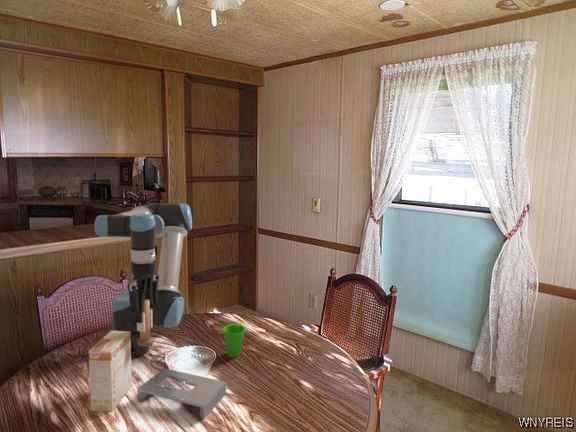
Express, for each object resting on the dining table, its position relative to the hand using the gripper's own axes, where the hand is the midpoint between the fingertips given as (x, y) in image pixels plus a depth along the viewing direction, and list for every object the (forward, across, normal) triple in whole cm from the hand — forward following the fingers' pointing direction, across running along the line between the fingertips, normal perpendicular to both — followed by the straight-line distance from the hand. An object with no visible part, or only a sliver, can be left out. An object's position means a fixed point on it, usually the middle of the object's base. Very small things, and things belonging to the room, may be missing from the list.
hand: (144, 328), depth 136 cm
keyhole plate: (+20, -2, -16) cm, 26 cm away
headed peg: (+5, 0, 0) cm, 5 cm away
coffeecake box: (+20, -10, +5) cm, 23 cm away
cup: (+20, +30, -18) cm, 41 cm away
